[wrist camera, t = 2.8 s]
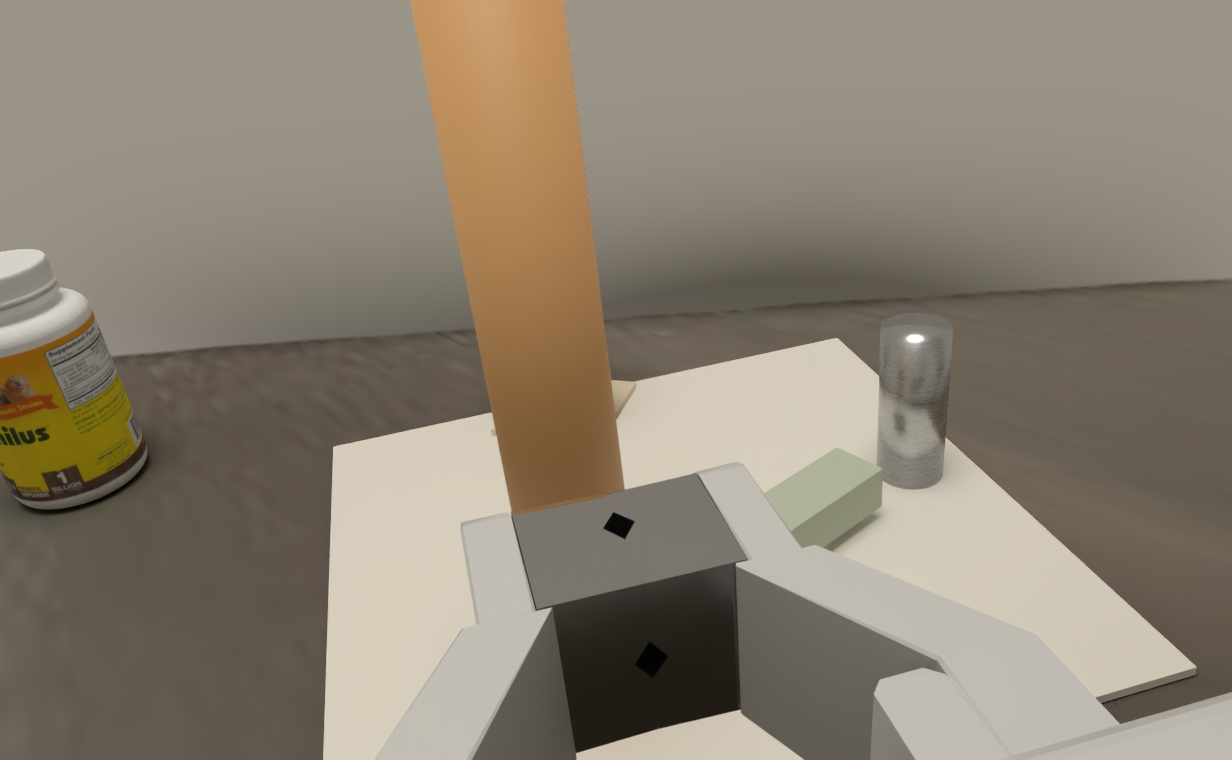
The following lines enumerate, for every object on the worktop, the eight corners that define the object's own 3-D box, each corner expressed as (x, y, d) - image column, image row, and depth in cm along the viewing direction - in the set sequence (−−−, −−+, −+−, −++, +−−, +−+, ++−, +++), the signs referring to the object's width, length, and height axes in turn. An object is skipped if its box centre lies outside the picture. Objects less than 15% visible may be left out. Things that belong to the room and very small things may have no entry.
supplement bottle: (-12, 506, 41) (-126, 290, 36) (92, 438, 45) (3, 237, 41) (80, 525, 39) (-28, 299, 34) (179, 452, 43) (96, 242, 38)
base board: (837, 343, 46) (836, 337, 46) (1195, 675, 26) (1197, 667, 26) (335, 452, 42) (333, 446, 42) (320, 936, 22) (317, 929, 22)
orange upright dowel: (825, 478, 35) (825, -102, 26) (893, 512, 33) (920, -108, 24) (525, 674, 28) (378, -24, 19) (587, 733, 26) (455, -22, 17)
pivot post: (921, 447, 37) (929, 307, 34) (955, 480, 35) (967, 334, 32) (865, 461, 36) (868, 321, 34) (895, 495, 34) (902, 349, 31)
